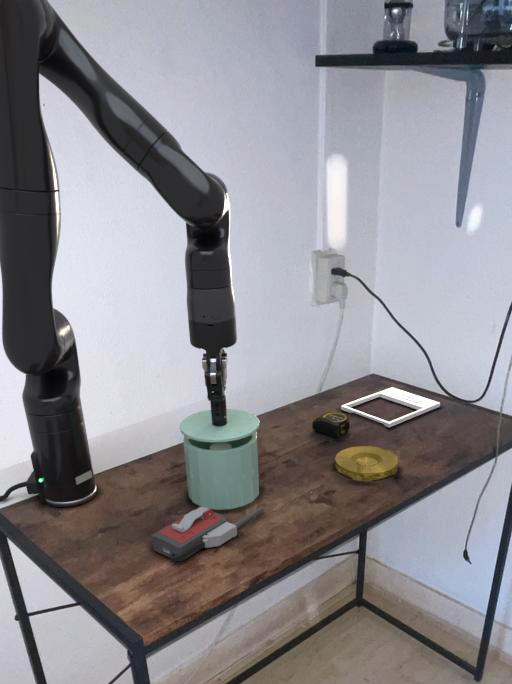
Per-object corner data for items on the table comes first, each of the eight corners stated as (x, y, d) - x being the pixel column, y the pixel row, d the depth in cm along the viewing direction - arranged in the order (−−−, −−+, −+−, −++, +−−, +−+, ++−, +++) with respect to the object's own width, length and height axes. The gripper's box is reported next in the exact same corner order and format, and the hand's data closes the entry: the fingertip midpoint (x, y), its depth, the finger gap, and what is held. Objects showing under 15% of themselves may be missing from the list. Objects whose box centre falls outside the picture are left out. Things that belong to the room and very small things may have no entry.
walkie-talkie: (185, 572, 103) (267, 517, 117) (182, 547, 101) (267, 494, 115) (145, 553, 108) (229, 502, 122) (141, 529, 106) (227, 480, 119)
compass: (373, 451, 139) (373, 441, 138) (410, 474, 130) (411, 463, 129) (323, 464, 134) (323, 454, 133) (358, 489, 125) (359, 478, 124)
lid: (176, 447, 112) (172, 412, 109) (184, 415, 124) (180, 383, 121) (259, 444, 112) (258, 409, 109) (259, 413, 124) (258, 380, 121)
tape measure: (310, 433, 148) (310, 417, 146) (331, 424, 152) (331, 408, 150) (335, 442, 143) (335, 426, 142) (355, 432, 148) (356, 416, 146)
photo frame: (440, 401, 159) (389, 422, 149) (440, 406, 160) (388, 427, 150) (392, 386, 169) (341, 404, 158) (392, 390, 169) (340, 409, 159)
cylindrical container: (186, 513, 119) (180, 452, 113) (192, 479, 130) (187, 423, 124) (259, 510, 119) (256, 450, 113) (259, 477, 130) (256, 421, 124)
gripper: (191, 304, 114) (199, 402, 123) (183, 326, 102) (193, 434, 111) (236, 303, 114) (241, 401, 123) (234, 325, 102) (240, 432, 111)
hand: (218, 416), depth 117 cm, fingers closed on lid, 2 cm apart
